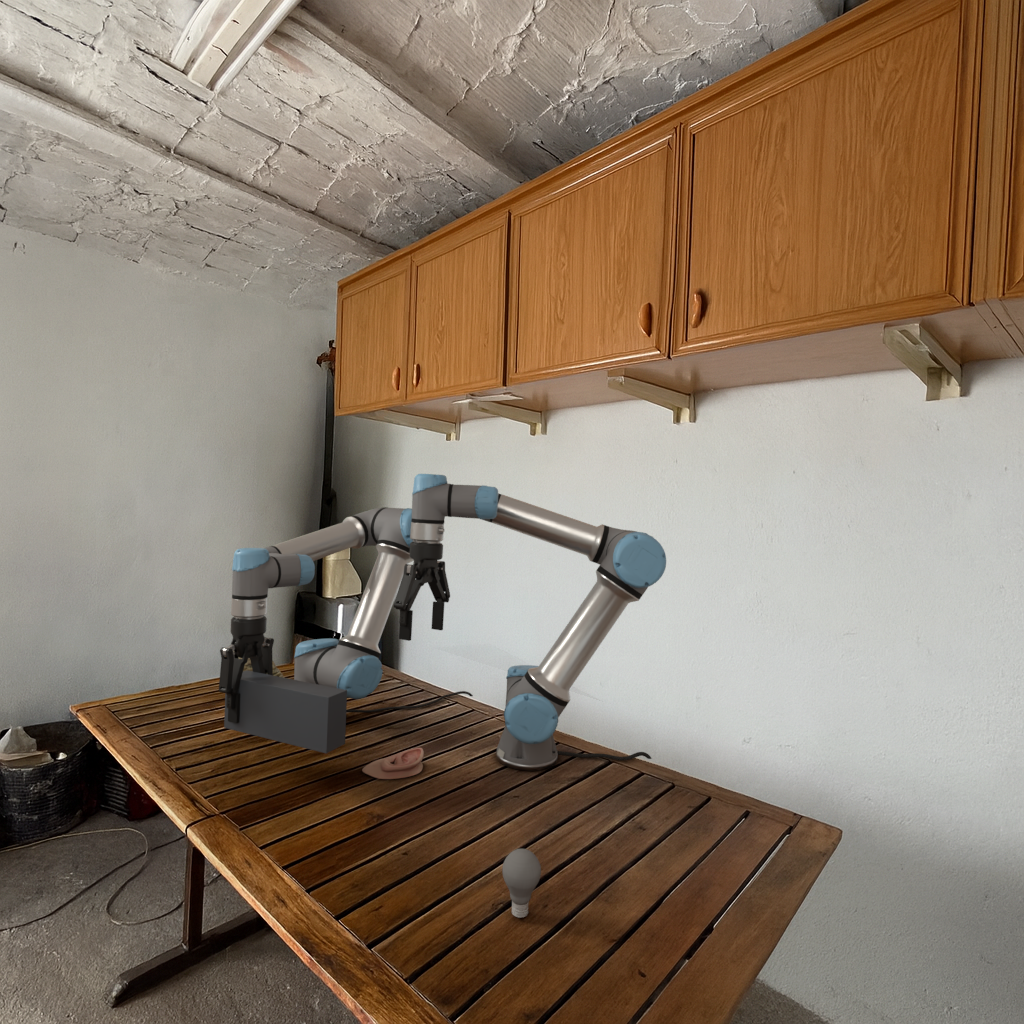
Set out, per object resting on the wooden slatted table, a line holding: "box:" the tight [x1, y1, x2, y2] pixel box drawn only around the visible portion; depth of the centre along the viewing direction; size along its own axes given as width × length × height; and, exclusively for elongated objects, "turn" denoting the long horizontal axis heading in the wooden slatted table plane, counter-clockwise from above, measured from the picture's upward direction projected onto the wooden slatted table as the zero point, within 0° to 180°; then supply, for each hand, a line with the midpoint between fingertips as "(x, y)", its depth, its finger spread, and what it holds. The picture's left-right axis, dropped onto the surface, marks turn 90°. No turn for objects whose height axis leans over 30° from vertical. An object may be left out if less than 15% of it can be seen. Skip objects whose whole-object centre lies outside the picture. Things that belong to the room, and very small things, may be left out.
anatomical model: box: [361, 747, 425, 780], centre depth 148 cm, size 13×4×12 cm
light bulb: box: [502, 848, 542, 919], centre depth 98 cm, size 6×6×10 cm
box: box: [223, 670, 348, 754], centre depth 140 cm, size 29×6×12 cm, turn 66°
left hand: (245, 717), depth 144 cm, fingers closed on box, 6 cm apart
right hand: (421, 634), depth 145 cm, fingers open, 13 cm apart
